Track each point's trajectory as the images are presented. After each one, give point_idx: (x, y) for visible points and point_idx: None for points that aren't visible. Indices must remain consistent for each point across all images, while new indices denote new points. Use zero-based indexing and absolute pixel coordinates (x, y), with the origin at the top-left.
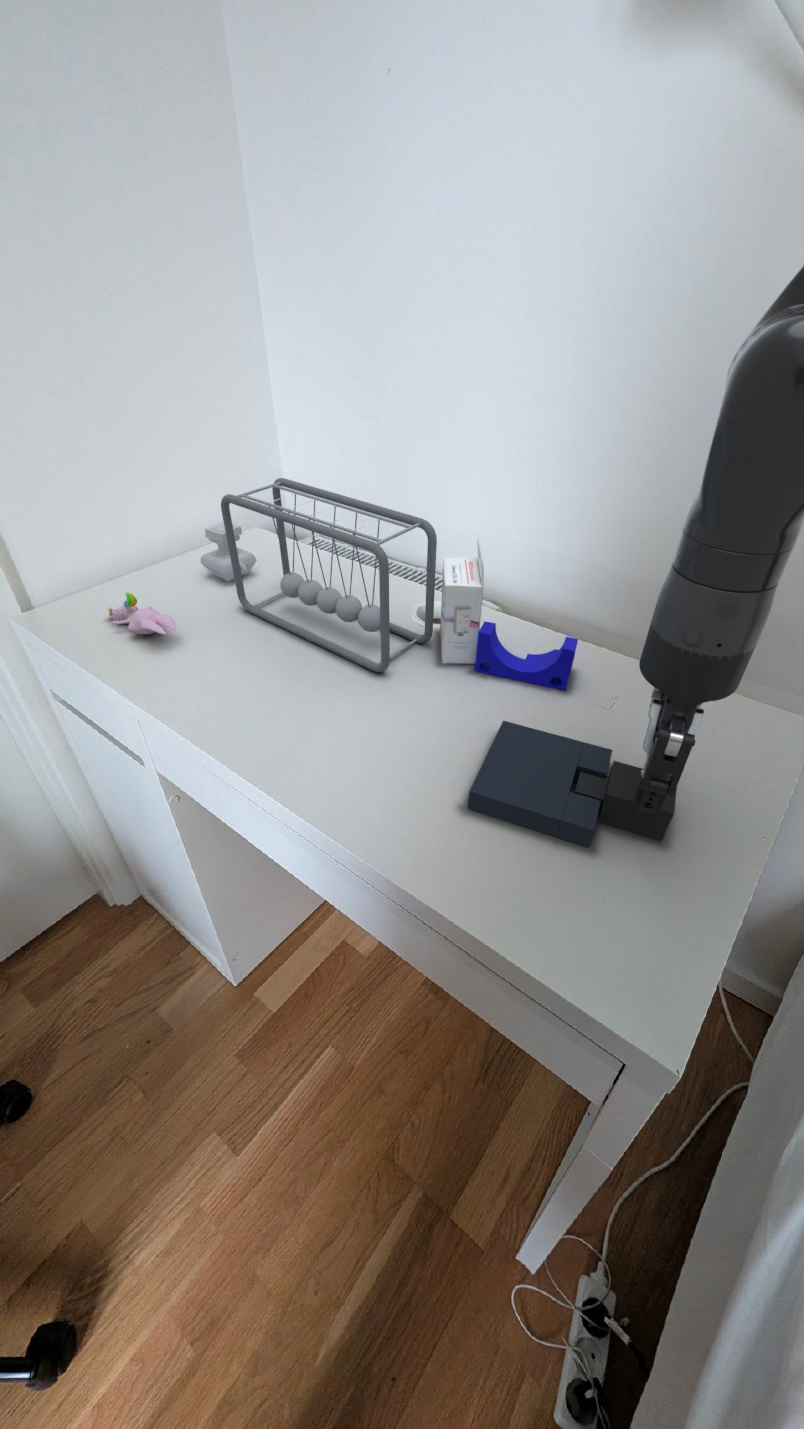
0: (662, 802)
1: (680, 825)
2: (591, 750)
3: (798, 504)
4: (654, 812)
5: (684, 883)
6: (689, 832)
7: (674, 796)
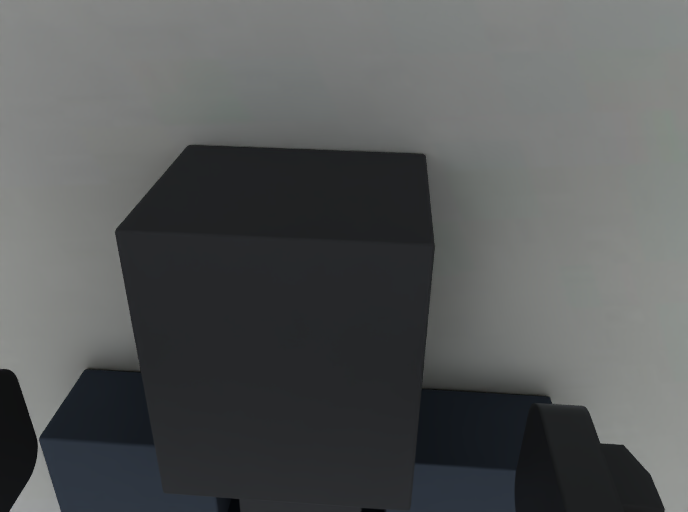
0: (611, 483)
1: (283, 72)
2: (99, 503)
3: None
4: (634, 457)
5: (654, 44)
6: (311, 27)
7: (287, 244)
